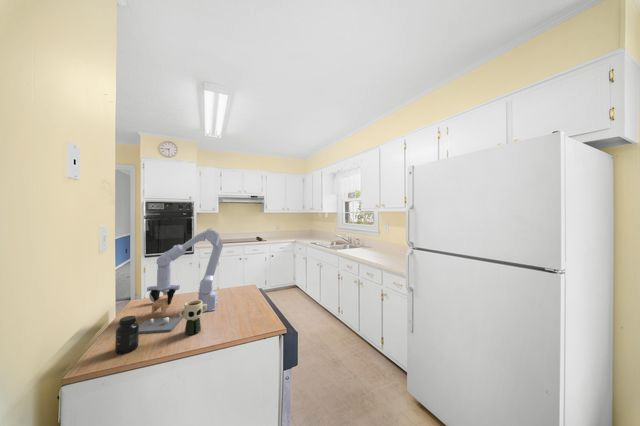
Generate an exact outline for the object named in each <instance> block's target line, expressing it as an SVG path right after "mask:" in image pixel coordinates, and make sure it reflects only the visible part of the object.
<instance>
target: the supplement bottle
mask: <svg viewBox="0 0 640 426" xmlns="http://www.w3.org/2000/svg"><path fill="white" fill-rule="evenodd" d="M118 325H119V326H117V328H116V329H115V340H114V341H115V342H114V343H115V345H114V347H115V348H114V352H115V354H117V355H126V354H129V352H130V353H132V352H134V351H135V350H137V349H138V348H139V344H140V343H139V338H140V337H139V336H140V334H139V326H140V323H138V322H137V317H136V315H127V316H123V317H121V318H120V319H119V323H118ZM133 350H134V351H133ZM131 351H132V352H131ZM125 353H126V354H125Z"/></svg>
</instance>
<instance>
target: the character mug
mask: <svg viewBox="0 0 640 426" xmlns="http://www.w3.org/2000/svg"><path fill="white" fill-rule="evenodd" d="M202 304H203V303H202V301H201V300H198V299H194V300H193V299H192V300H189V301H187V302H185V303H184V307H183V308H182V309H180V310H179V311H178V312H179V315H178V317H182V318H184V320H186V323H185V328H184V334H186V335H194V333H195V334H198V333H200V332H201V330H202V327H201V326H202V325H201V319H200V318H201V317H202V315H203V313H204V312H207V311H206V310H207V304H203V305H202ZM202 307H204V310H202Z"/></svg>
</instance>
